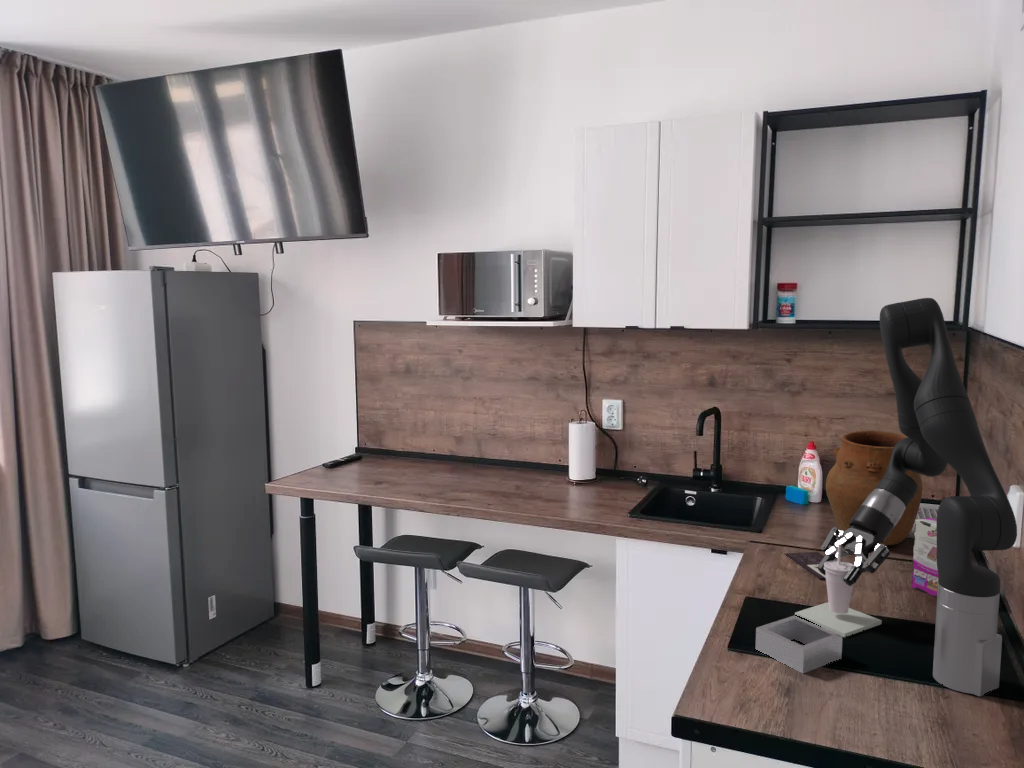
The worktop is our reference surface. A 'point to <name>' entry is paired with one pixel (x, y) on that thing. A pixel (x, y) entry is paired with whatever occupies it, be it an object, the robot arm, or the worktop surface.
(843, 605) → the smoothie
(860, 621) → the sage mat
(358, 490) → the worktop surface
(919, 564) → the candy bar box
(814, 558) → the chocolate bar
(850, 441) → the pot
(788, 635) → the gray square open box
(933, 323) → the robot arm
